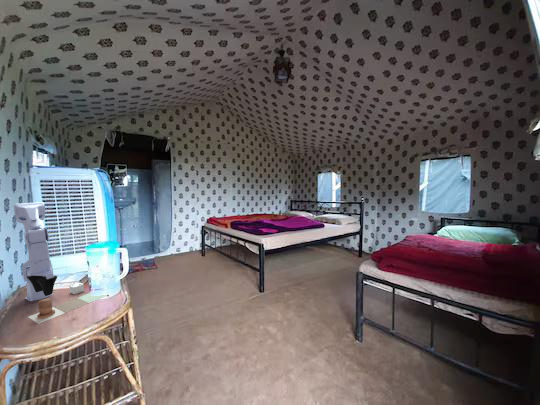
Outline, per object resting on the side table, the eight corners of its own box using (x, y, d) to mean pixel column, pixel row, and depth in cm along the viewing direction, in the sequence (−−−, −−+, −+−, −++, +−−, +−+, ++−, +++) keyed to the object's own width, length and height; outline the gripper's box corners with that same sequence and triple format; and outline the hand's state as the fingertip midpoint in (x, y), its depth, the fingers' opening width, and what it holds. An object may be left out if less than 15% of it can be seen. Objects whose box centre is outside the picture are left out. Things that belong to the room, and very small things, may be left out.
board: (27, 318, 98) (27, 317, 98) (97, 291, 120) (97, 290, 120) (38, 325, 93) (38, 323, 93) (108, 295, 115) (108, 294, 115)
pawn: (35, 316, 98) (33, 302, 97) (51, 310, 102) (49, 296, 102) (41, 320, 95) (39, 305, 95) (57, 313, 100) (55, 299, 99)
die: (70, 293, 118) (69, 285, 117) (80, 290, 121) (79, 282, 121) (74, 295, 116) (73, 287, 115) (84, 292, 119) (83, 283, 119)
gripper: (17, 260, 96) (22, 293, 98) (34, 265, 90) (39, 301, 91) (41, 255, 103) (45, 286, 104) (58, 259, 96) (62, 293, 97)
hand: (44, 293), depth 98 cm, fingers open, 7 cm apart
